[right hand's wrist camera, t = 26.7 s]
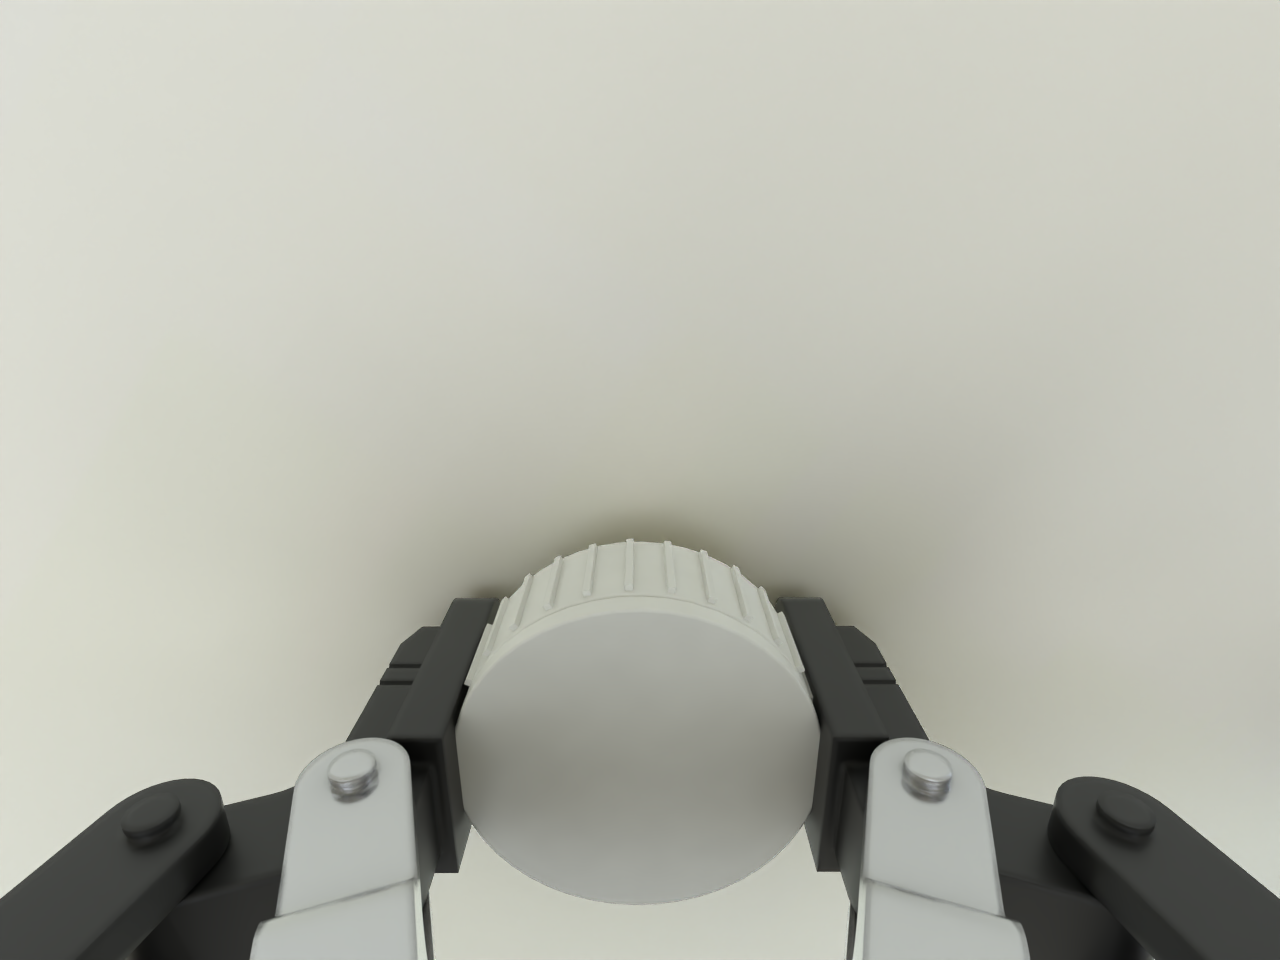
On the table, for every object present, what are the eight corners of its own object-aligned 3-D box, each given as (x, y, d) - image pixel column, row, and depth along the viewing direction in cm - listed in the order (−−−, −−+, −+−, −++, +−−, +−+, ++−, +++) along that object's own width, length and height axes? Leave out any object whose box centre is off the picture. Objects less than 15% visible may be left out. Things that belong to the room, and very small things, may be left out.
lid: (864, 635, 11) (910, 719, 9) (685, 846, 12) (694, 956, 10) (578, 473, 10) (564, 531, 8) (423, 724, 11) (382, 820, 10)
